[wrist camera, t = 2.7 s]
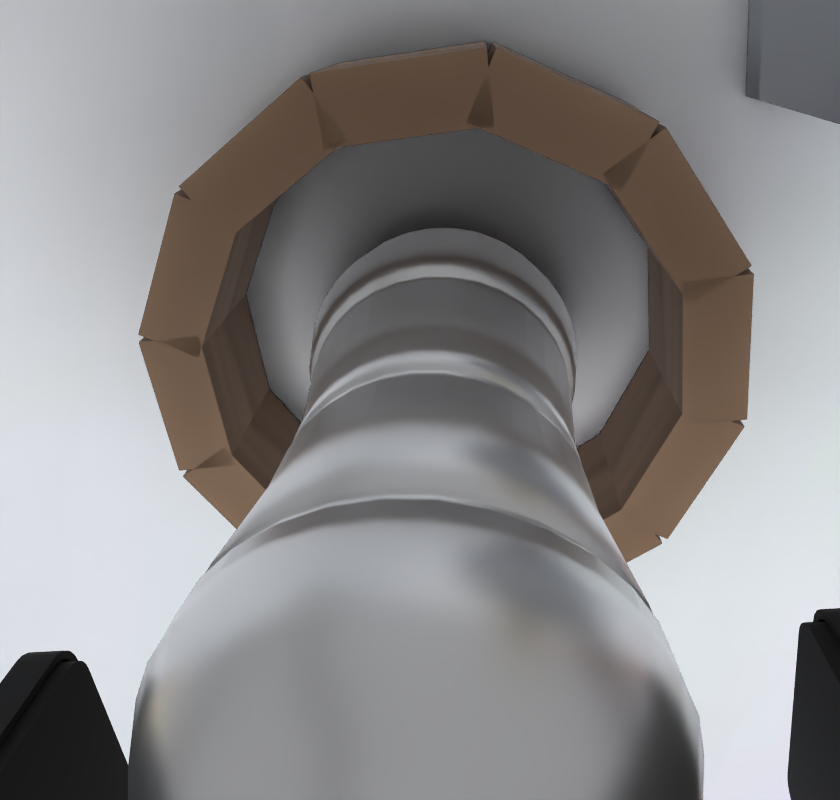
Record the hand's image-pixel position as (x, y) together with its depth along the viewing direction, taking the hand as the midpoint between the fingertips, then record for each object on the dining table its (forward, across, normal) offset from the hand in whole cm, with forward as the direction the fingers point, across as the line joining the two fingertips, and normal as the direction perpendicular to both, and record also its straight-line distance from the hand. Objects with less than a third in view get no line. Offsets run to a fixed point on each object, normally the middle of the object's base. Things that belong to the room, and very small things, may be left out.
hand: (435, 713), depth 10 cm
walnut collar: (+14, 0, -1) cm, 14 cm away
